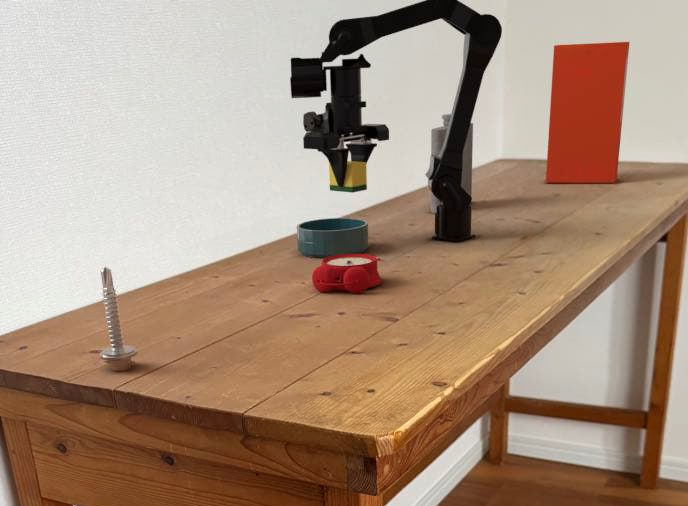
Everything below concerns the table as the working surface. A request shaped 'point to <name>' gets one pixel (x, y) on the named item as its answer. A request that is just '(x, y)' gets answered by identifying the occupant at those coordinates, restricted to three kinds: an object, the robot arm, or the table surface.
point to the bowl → (332, 237)
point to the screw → (114, 328)
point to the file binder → (586, 112)
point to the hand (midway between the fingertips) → (348, 184)
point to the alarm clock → (347, 273)
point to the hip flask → (466, 181)
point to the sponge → (350, 178)
